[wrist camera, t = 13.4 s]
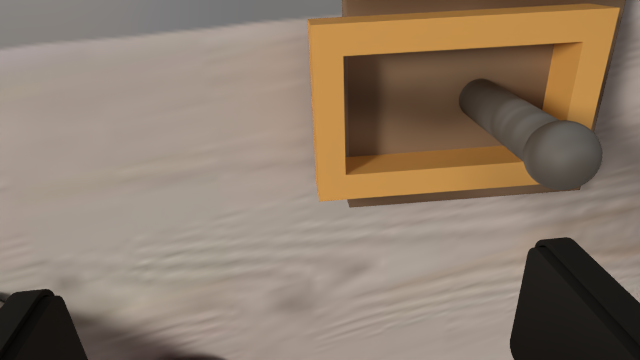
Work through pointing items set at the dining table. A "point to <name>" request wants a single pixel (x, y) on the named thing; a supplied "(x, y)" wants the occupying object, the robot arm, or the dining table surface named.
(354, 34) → the link
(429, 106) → the board
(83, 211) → the dining table surface
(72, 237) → the dining table surface
